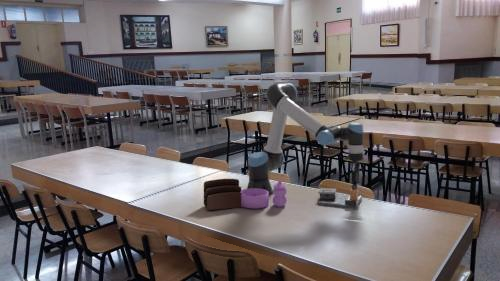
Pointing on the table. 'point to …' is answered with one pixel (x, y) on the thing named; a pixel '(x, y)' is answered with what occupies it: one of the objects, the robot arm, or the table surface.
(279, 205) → the container set
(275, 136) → the robot arm
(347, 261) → the table surface
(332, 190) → the electrical switch
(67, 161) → the table surface
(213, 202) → the letter holder
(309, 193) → the table surface
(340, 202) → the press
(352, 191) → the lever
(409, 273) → the table surface
